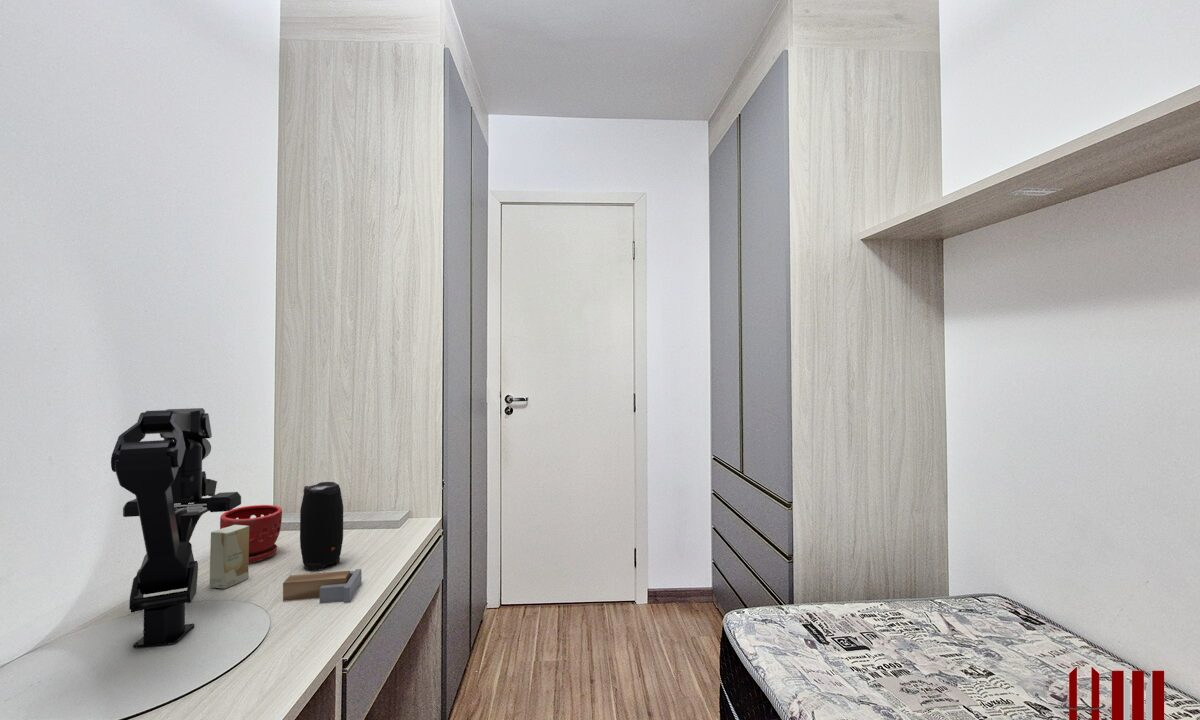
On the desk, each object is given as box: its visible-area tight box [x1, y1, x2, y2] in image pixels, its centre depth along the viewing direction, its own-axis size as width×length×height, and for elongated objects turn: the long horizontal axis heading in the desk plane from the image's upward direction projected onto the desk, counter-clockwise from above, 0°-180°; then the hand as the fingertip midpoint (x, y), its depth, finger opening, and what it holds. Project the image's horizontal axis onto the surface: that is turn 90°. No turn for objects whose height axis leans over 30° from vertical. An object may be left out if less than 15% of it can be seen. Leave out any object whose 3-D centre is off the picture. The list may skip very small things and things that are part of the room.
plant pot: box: [219, 504, 283, 564], centre depth 133 cm, size 13×13×12 cm
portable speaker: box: [299, 481, 344, 572], centre depth 128 cm, size 9×9×20 cm
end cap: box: [319, 568, 363, 604], centre depth 112 cm, size 10×6×3 cm, turn 12°
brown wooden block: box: [282, 570, 351, 602], centre depth 112 cm, size 4×12×4 cm, turn 102°
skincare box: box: [209, 525, 250, 590], centre depth 118 cm, size 6×4×12 cm
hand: (184, 545), depth 107 cm, fingers closed
